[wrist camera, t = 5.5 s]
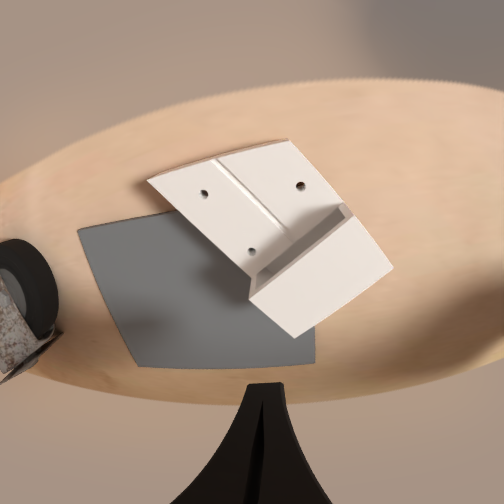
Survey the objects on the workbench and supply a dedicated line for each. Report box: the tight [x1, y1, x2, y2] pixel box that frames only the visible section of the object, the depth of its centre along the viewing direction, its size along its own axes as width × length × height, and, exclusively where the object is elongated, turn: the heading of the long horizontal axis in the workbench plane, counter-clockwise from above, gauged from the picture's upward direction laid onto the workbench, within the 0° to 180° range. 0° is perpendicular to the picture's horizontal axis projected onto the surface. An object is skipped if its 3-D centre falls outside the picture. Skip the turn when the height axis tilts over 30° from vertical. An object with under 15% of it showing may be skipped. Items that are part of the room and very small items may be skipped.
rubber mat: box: [78, 210, 315, 369], centre depth 18 cm, size 14×12×1 cm
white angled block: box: [147, 138, 394, 339], centre depth 13 cm, size 4×10×9 cm
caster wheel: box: [0, 239, 64, 385], centre depth 17 cm, size 7×11×10 cm
